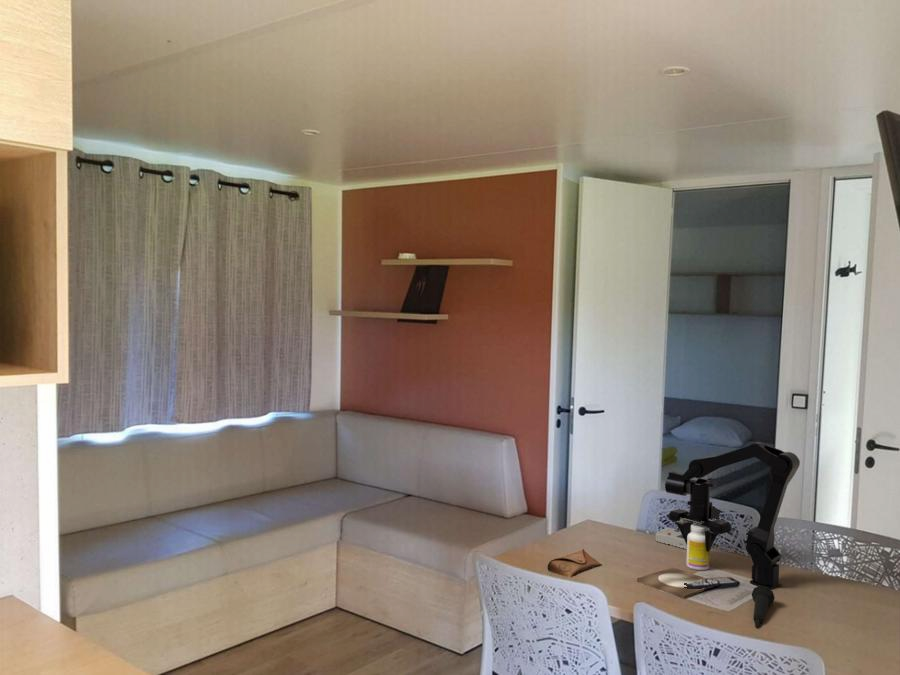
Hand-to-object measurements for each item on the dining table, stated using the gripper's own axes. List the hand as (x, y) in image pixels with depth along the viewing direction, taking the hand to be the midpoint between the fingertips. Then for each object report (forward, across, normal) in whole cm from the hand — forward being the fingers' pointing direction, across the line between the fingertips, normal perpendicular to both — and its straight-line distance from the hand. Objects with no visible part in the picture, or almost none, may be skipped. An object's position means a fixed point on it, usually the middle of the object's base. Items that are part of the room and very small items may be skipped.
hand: (698, 548), depth 228 cm
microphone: (+6, -30, +18) cm, 36 cm away
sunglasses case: (+6, +21, +32) cm, 39 cm away
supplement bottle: (+6, 0, 0) cm, 6 cm away
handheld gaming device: (+6, +18, -16) cm, 24 cm away
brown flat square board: (+6, -5, +17) cm, 19 cm away
